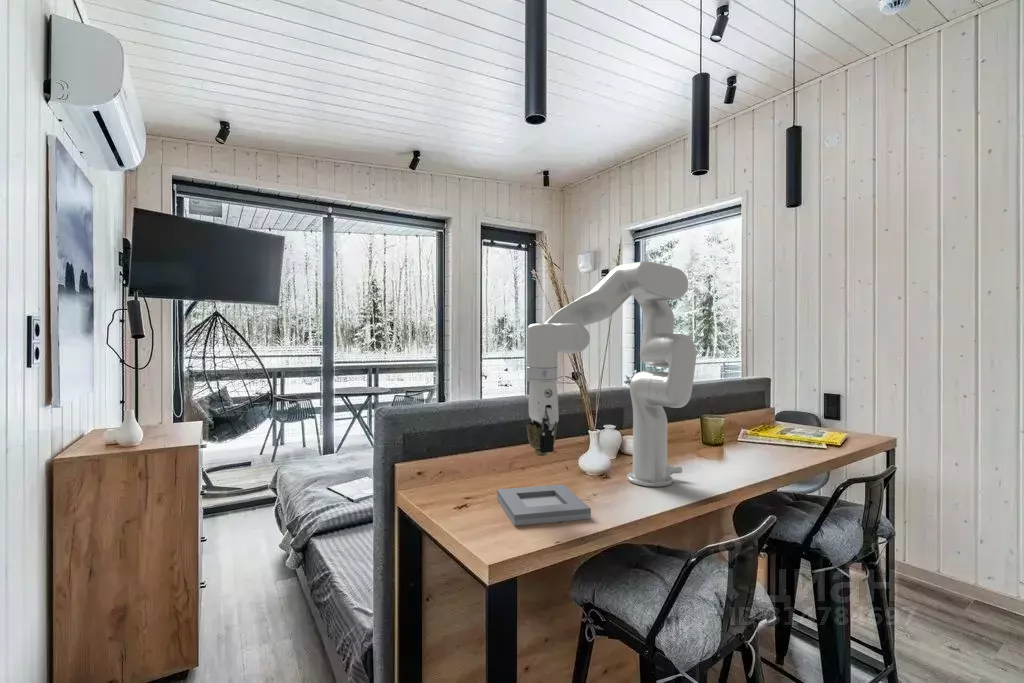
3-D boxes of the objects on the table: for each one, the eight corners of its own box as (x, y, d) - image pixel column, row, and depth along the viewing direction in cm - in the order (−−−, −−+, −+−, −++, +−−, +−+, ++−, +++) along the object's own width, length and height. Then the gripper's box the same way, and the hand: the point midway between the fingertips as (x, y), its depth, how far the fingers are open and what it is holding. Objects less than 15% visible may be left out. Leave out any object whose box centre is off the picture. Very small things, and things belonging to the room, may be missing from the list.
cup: (559, 452, 120) (559, 420, 120) (554, 460, 113) (554, 425, 113) (530, 450, 123) (530, 418, 122) (522, 457, 115) (523, 424, 115)
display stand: (563, 493, 129) (563, 484, 129) (590, 518, 112) (590, 508, 112) (497, 498, 125) (497, 489, 125) (514, 525, 107) (514, 515, 107)
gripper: (569, 377, 110) (569, 456, 110) (545, 371, 127) (545, 439, 127) (537, 378, 108) (537, 458, 109) (517, 372, 125) (517, 441, 125)
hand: (541, 447), depth 118 cm, fingers closed on cup, 7 cm apart
